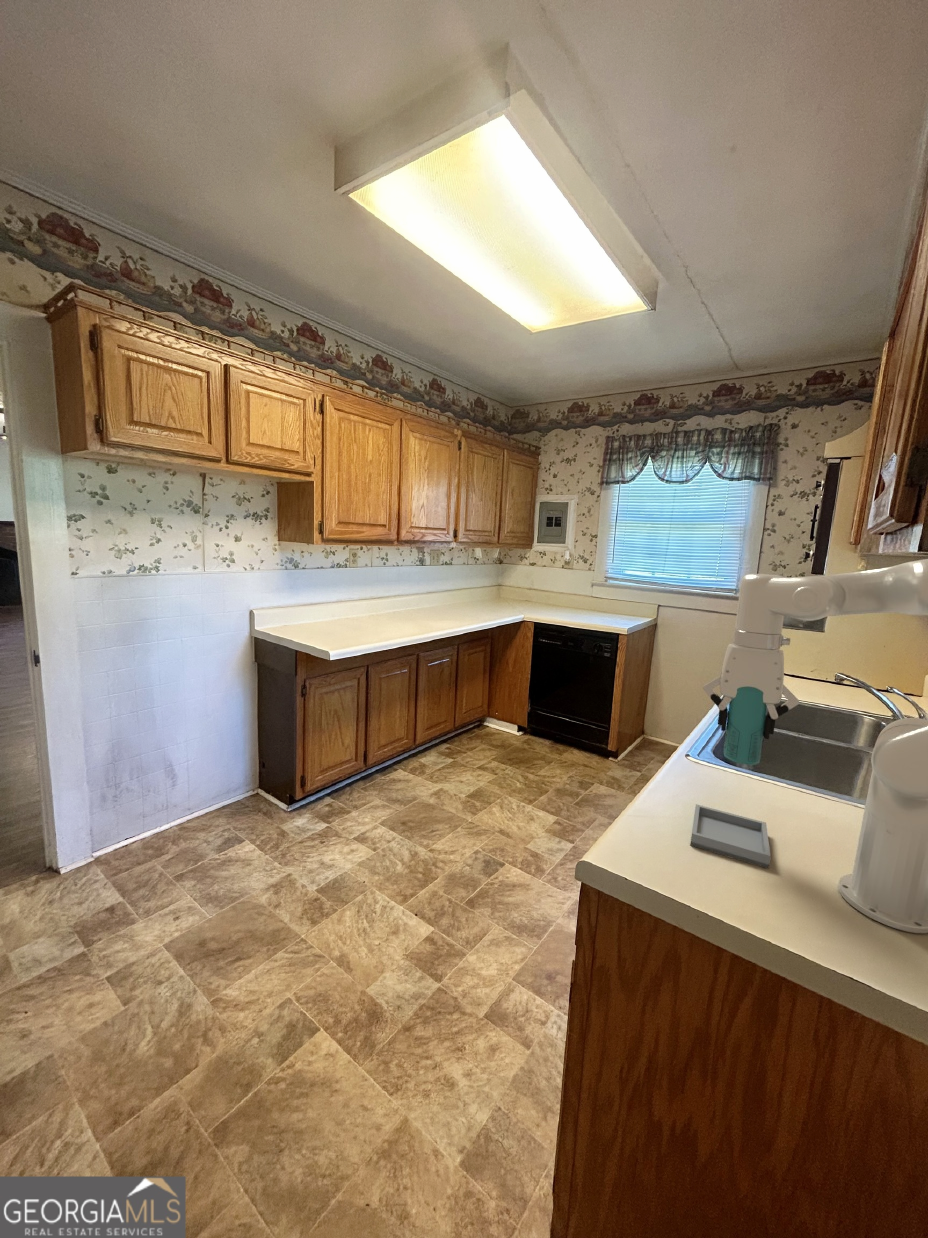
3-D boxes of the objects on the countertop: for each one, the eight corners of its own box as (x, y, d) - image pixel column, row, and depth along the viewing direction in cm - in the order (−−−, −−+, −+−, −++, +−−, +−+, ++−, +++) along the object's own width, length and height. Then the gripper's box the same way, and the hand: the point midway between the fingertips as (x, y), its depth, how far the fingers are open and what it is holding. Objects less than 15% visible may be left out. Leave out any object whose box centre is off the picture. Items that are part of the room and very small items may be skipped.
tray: (764, 834, 101) (766, 822, 101) (768, 869, 90) (770, 856, 90) (694, 815, 107) (695, 804, 107) (690, 845, 96) (691, 833, 96)
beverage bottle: (765, 775, 92) (780, 669, 89) (726, 770, 93) (740, 666, 91) (752, 760, 99) (765, 662, 96) (716, 756, 100) (728, 658, 97)
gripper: (809, 643, 92) (795, 736, 95) (705, 632, 100) (695, 718, 102) (816, 650, 85) (800, 749, 88) (704, 637, 93) (693, 729, 96)
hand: (744, 732), depth 95 cm, fingers closed on beverage bottle, 6 cm apart
